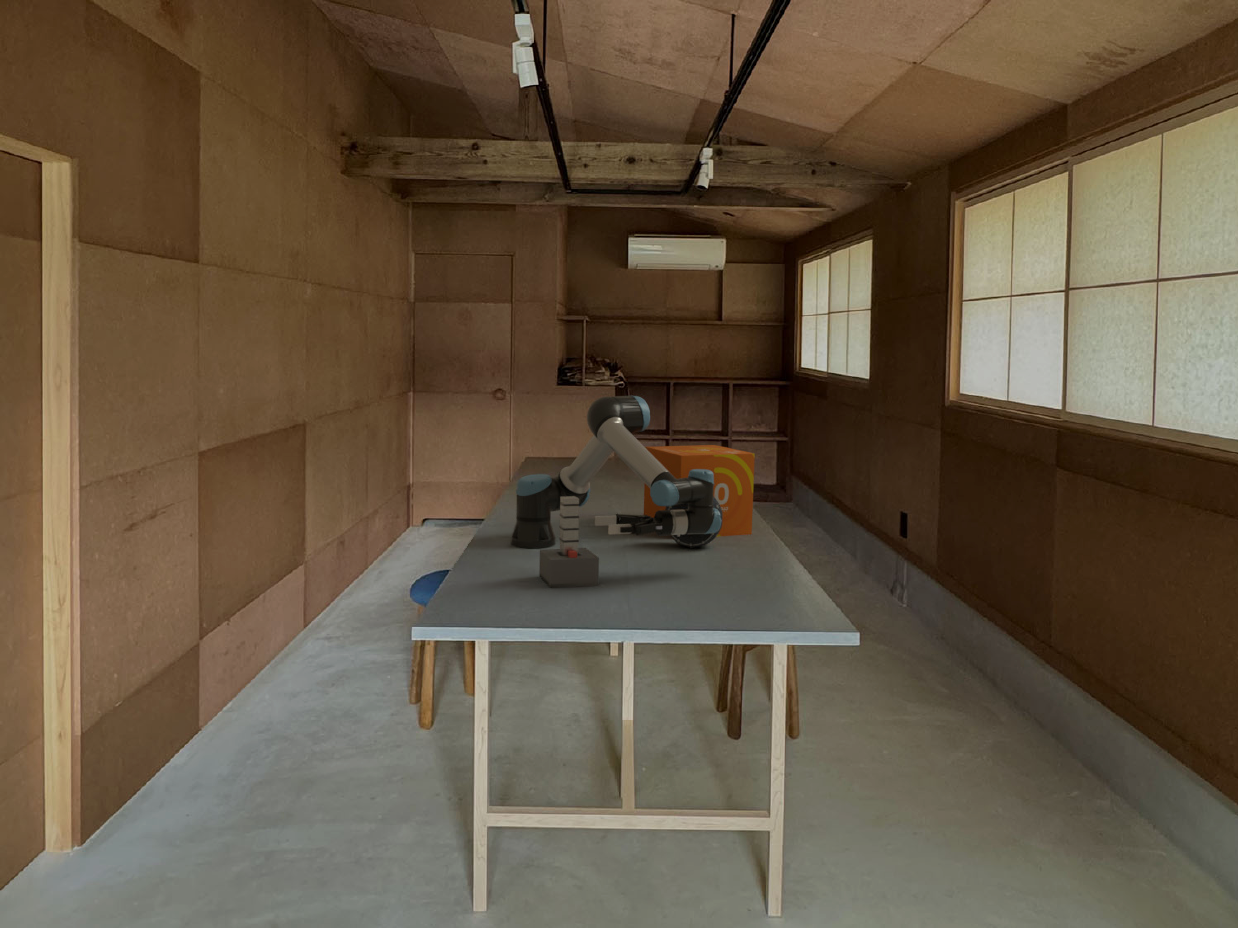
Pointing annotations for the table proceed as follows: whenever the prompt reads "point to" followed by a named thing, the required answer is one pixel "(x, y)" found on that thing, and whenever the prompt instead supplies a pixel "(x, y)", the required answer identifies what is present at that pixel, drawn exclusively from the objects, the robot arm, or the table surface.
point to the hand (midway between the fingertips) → (601, 525)
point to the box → (729, 480)
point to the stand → (569, 568)
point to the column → (569, 524)
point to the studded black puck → (695, 539)
